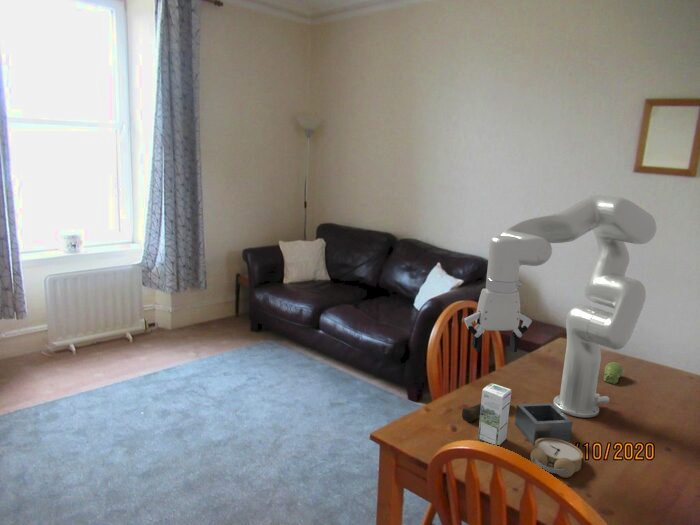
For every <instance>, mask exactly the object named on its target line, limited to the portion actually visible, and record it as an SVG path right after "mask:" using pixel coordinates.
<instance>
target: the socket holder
mask: <svg viewBox="0 0 700 525" xmlns="http://www.w3.org/2000/svg"><path fill="white" fill-rule="evenodd" d="M515 411H516V412H515V420H514V425H515V426H516V427H517V429H518V430H520V432H521V433H522V434H523V435H524V436H525V438H526V439H527V440H528V441H529V442H530V443H531V444H532V445H534V444H535V441H536V440H537V439H540V438H555V439H559V440H563V441H566V442H568V443H571V438H572V437H571V436H572V431H573V430H572V429H573V423H574V422H573V421H572V419H570V418H569V417H568V416H567V414H565V413H564V412H562V411H560V410H559V409H558V408H557V407H556V406H554V403H552V402H544V403H543V402H542V403H540V402H539V403H522V404H516V410H515Z"/></svg>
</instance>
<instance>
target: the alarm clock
mask: <svg viewBox="0 0 700 525" xmlns="http://www.w3.org/2000/svg"><path fill="white" fill-rule="evenodd" d="M583 456H584V453H583V451H582V450H581V449H580V448H579V447H578V446H576V445H574V444H572V443H571V442H570V443H568V442H566V441H563V440H559V439H555V438H540V439H537V440H536V441H535V444H534V447H533V449H532V451H531V452H530V462H531V463H532V462H534V463H535V464H537V465H538V466H540V467H541V468H543V469H544V470H543V469H542V470H543V471H545V470H546V472H549V473H552V474H557V476H559V477H562V478H570V477H572V476H573V474H574V473H577V472H579V471H580V470H581V469H582V461H583ZM541 468H540V469H541Z"/></svg>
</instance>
